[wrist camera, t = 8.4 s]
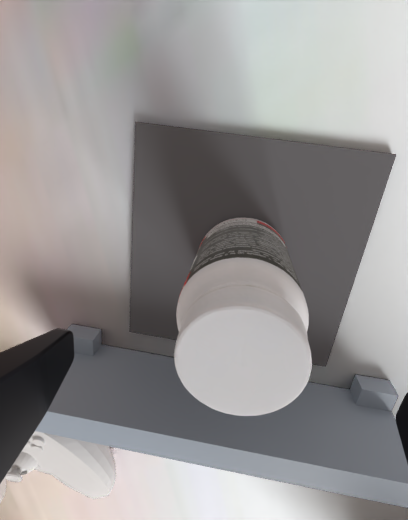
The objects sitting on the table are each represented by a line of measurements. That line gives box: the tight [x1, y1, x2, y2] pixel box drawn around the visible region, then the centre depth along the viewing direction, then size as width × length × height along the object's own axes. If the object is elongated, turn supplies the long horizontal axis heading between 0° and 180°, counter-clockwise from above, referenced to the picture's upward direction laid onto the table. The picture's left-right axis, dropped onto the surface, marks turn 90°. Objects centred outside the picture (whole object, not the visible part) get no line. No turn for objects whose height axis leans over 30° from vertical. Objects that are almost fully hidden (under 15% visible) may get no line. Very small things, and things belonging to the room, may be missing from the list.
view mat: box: [130, 122, 396, 366], centre depth 17 cm, size 12×12×1 cm
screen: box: [35, 324, 408, 508], centre depth 18 cm, size 20×4×6 cm, turn 84°
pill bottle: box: [174, 218, 312, 416], centre depth 13 cm, size 5×5×8 cm
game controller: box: [0, 431, 116, 503], centre depth 23 cm, size 14×4×10 cm
